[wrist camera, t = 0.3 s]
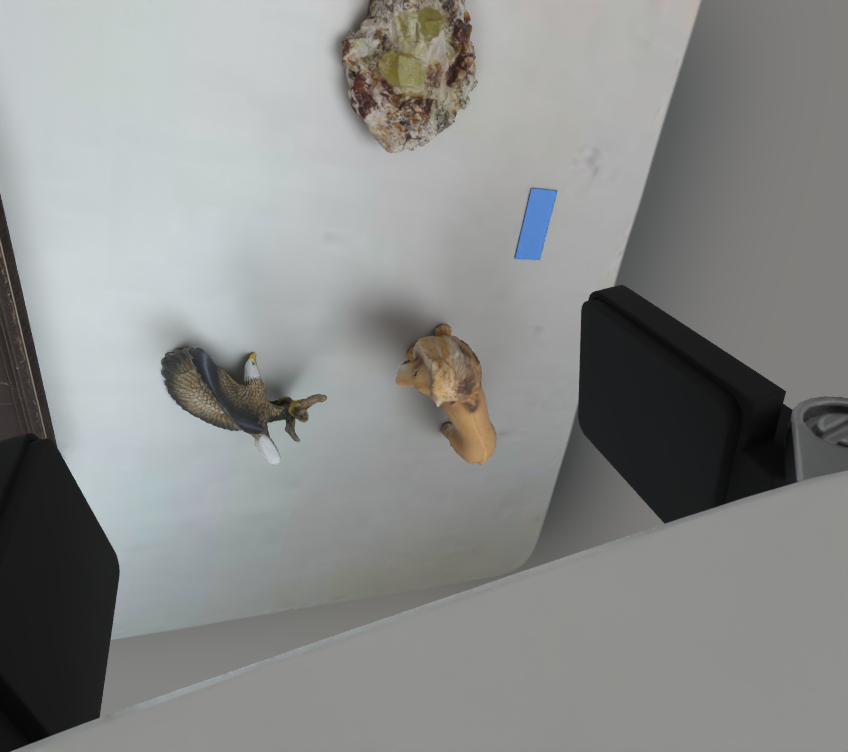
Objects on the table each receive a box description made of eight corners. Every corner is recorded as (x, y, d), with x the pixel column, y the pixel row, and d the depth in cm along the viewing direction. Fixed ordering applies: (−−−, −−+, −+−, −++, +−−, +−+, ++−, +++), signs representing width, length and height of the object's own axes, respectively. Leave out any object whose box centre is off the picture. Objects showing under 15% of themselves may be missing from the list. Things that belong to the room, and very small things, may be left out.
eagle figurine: (324, 342, 42) (192, 311, 36) (331, 442, 39) (188, 424, 33) (272, 385, 47) (149, 363, 42) (274, 476, 44) (142, 465, 39)
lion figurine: (363, 325, 44) (397, 391, 36) (427, 283, 43) (473, 342, 36) (453, 450, 52) (495, 525, 45) (506, 416, 52) (557, 485, 45)
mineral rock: (479, 162, 38) (364, 156, 33) (439, 149, 41) (328, 142, 36) (515, -48, 33) (385, -87, 28) (466, -45, 36) (342, -80, 32)
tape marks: (615, -171, 33) (616, -172, 33) (645, -161, 34) (646, -161, 34) (514, 258, 45) (515, 258, 44) (539, 259, 45) (539, 260, 45)
